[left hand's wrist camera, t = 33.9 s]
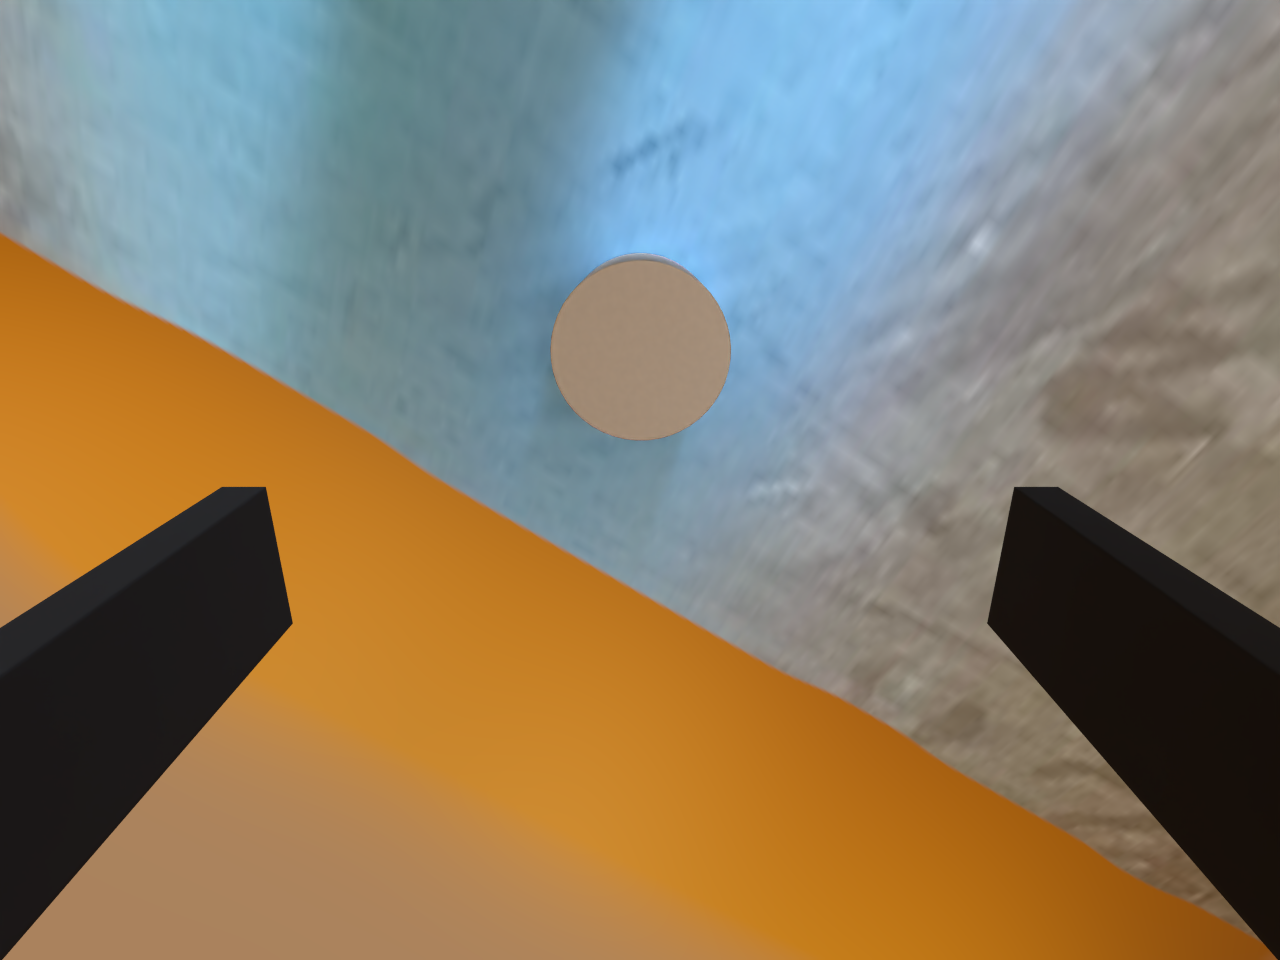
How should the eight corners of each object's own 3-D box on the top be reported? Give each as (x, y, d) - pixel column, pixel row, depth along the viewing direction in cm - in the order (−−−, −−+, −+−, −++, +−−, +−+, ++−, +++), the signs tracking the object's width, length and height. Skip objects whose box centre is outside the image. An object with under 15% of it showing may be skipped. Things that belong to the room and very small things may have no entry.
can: (726, 388, 39) (743, 422, 32) (584, 416, 40) (574, 455, 33) (701, 238, 36) (714, 242, 30) (549, 270, 37) (530, 281, 30)
